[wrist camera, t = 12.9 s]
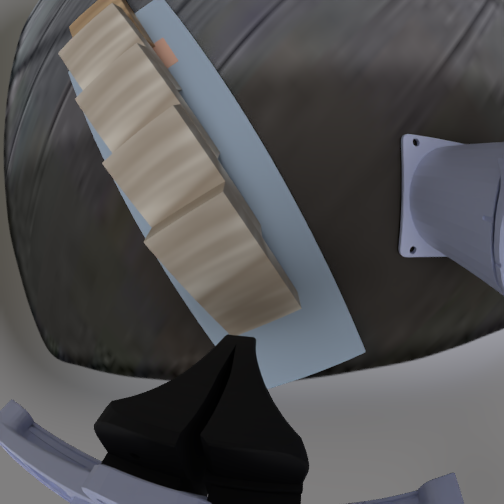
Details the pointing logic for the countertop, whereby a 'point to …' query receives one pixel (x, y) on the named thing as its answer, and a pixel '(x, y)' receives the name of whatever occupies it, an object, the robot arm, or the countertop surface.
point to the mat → (264, 208)
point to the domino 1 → (100, 5)
